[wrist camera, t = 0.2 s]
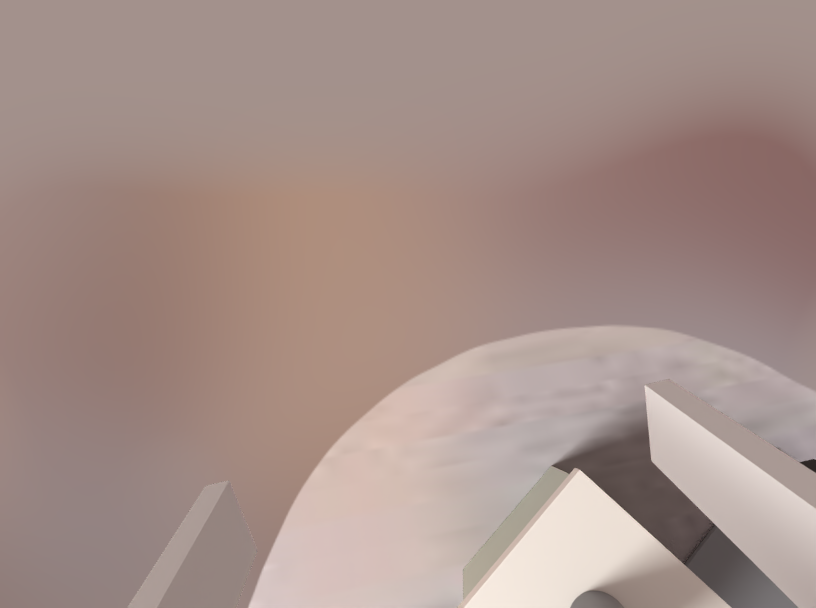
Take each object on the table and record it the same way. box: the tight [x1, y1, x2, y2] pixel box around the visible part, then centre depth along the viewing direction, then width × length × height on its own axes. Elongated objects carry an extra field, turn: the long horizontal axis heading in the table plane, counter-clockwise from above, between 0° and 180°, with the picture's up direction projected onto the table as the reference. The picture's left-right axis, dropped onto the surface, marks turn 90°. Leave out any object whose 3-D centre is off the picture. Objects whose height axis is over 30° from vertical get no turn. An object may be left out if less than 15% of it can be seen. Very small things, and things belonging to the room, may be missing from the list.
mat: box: [684, 525, 798, 608], centre depth 38 cm, size 17×17×1 cm
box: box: [463, 466, 569, 600], centre depth 36 cm, size 14×14×10 cm
